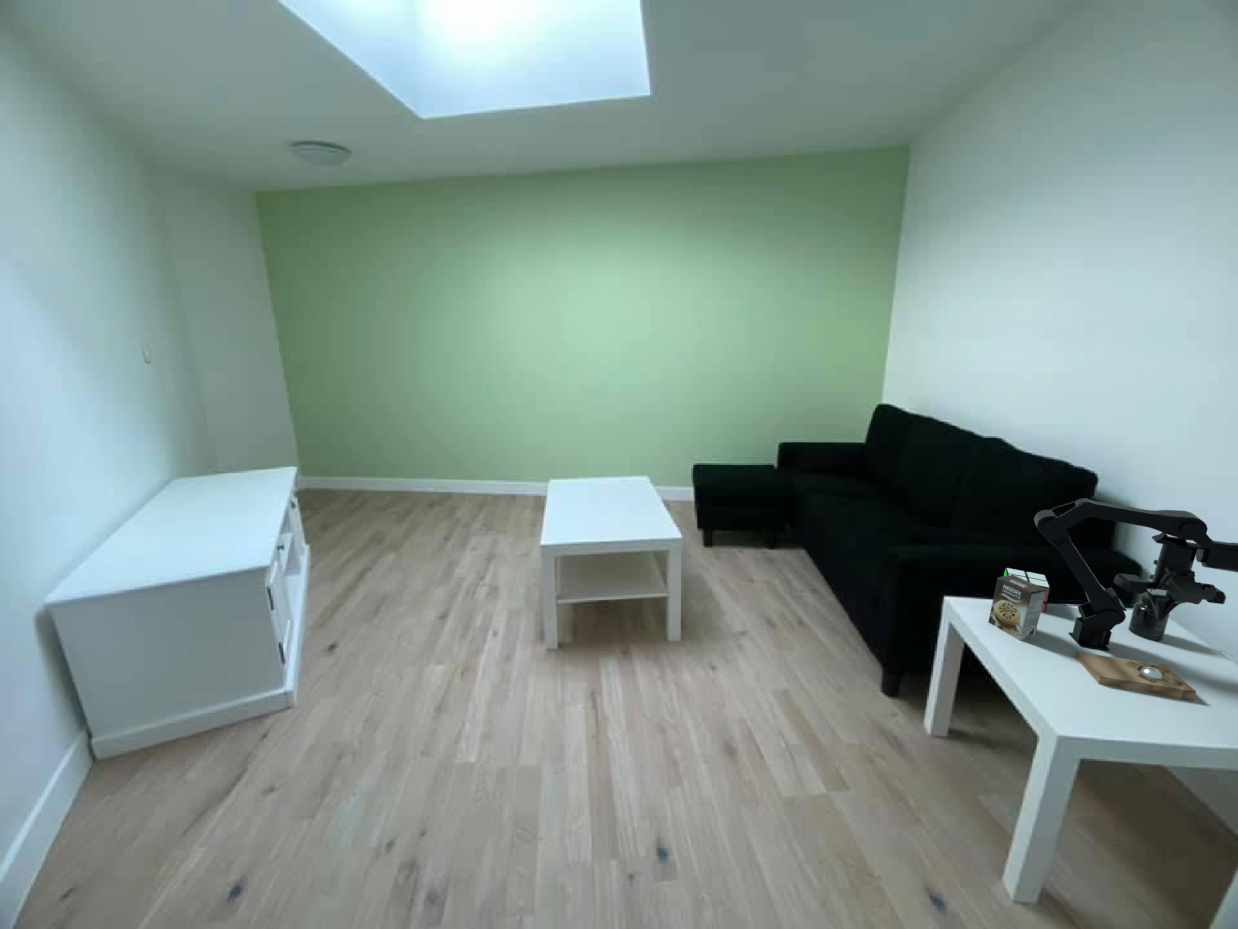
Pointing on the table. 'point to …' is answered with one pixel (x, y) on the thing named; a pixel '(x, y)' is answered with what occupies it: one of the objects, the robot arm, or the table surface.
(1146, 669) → the ball
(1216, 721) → the table surface
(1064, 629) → the table surface
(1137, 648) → the table surface
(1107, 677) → the tan hexagonal hole board
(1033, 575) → the puzzle cube
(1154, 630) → the supplement bottle
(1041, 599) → the coffee box
